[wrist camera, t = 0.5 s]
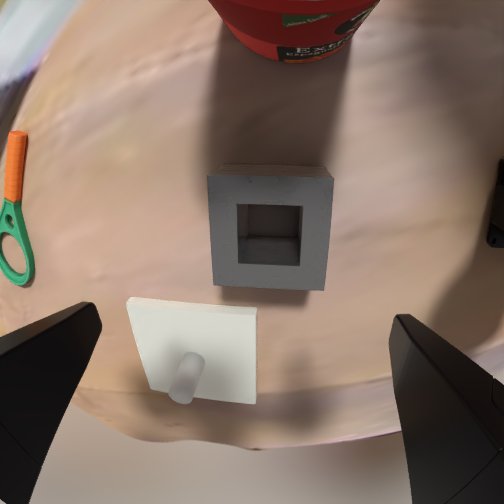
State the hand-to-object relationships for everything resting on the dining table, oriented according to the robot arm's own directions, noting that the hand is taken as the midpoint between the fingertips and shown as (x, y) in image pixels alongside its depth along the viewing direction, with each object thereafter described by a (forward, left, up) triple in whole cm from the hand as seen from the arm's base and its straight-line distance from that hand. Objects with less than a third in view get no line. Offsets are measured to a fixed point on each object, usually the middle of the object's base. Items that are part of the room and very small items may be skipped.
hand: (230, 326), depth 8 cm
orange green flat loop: (+22, 0, -12) cm, 26 cm away
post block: (+5, +12, -12) cm, 18 cm away
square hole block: (-1, 0, -12) cm, 12 cm away
